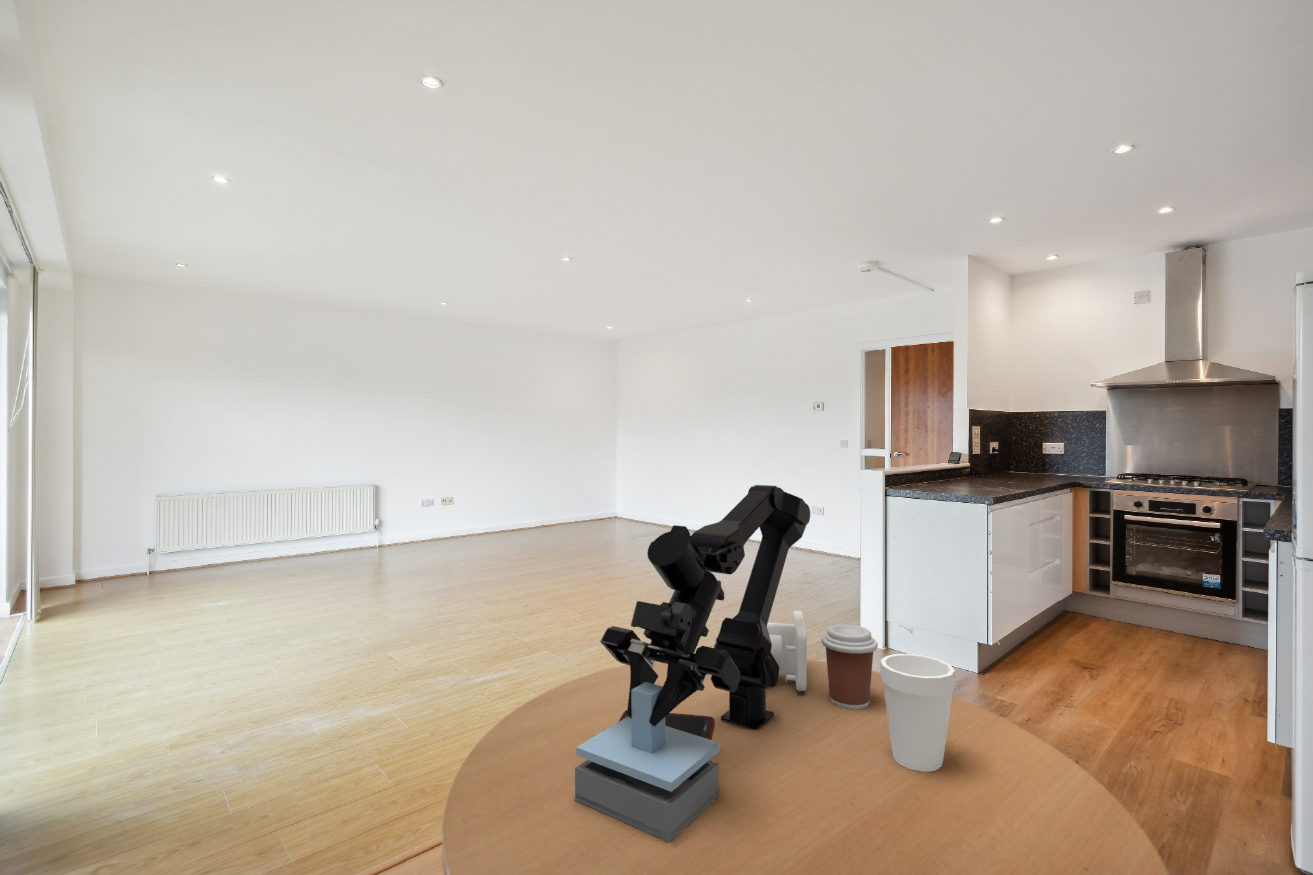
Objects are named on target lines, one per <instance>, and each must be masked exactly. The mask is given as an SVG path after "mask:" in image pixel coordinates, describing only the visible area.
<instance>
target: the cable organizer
mask: <svg viewBox="0 0 1313 875" xmlns="http://www.w3.org/2000/svg"><path fill="white" fill-rule="evenodd" d="M767 629H768V633H769V636H770V640H771V643H772V648H771V654H772V655H773V657H774V659H775V660H776V662H777V664H778V665H779V676H785V683H788V682H787V681H795V686H796V690H797V691H798V692H802V691H803V692H804V691H806V690H807V684H808V683H807V682H808V679H807V678H808V677H807V669H808V668H807V666H808V665H807V660H808V659H807V658H808V657H807V655H808V653H807V650H808V649H807V640H808V639H807V628H806V625H805V620H804V615H803V611H802V610H794V611H793V614H792V623H787V622H768V623H767Z"/></svg>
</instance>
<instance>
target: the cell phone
mask: <svg viewBox="0 0 1313 875" xmlns="http://www.w3.org/2000/svg"><path fill="white" fill-rule="evenodd" d="M626 717H628V716H627V709H626V710H624V711H623V713H622V714H621V716H620V718H619V720H618V721H617V723H618V722H619V721H621V720H623V719H624V718H626ZM715 721H716V720H715V718H714V717H713V716H709V715H698V714H697V715H696V714H685V713H684V714H683V713H675V712H674V713H673V712H670V713H669V714H668V715H667V716H666V717H665V726H668V727H671V728H674V729H677V730H680V731H684V732H687V733H690V734H693V735H696V736H700V737H703V738H706V739H709V740H712V738H713V733H714V730H715V729H714V728H715V723H716V722H715Z"/></svg>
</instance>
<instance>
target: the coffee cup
mask: <svg viewBox="0 0 1313 875" xmlns="http://www.w3.org/2000/svg"><path fill="white" fill-rule="evenodd" d="M821 644H822V646H823V647H825V656H826V658H825V659H826V667H827V669H826V670H827V678H828V679H827V680H828V690H829V693H828V694H829V700H830V699H831V701H833V703H835V704H836V705H835V704H834V705H835V706H837V705H838V706H837V707H840V706H841V707H840V708H843V709H849V710H862V709H865V708H867V707H869V706H868V705H870V699H871V698H870V697H871V686H872V685H871V683H872V674H873V662H874V652H875V651H876V650H878V647H879V646H878V644H879V643H878V641H877V640H876V639H875V638H873V636H872V632H871V631H870V630H869V629H868V628H866V627H863V626H861V625H854V624H848V623H847V624H845V623H844V624H842V623H841V624H834V625H831V626H829V627H828V628H827V632H826V633H825V634H824V635H823V636H822V637H821ZM831 701H830V702H831ZM833 703H832V704H833Z"/></svg>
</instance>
